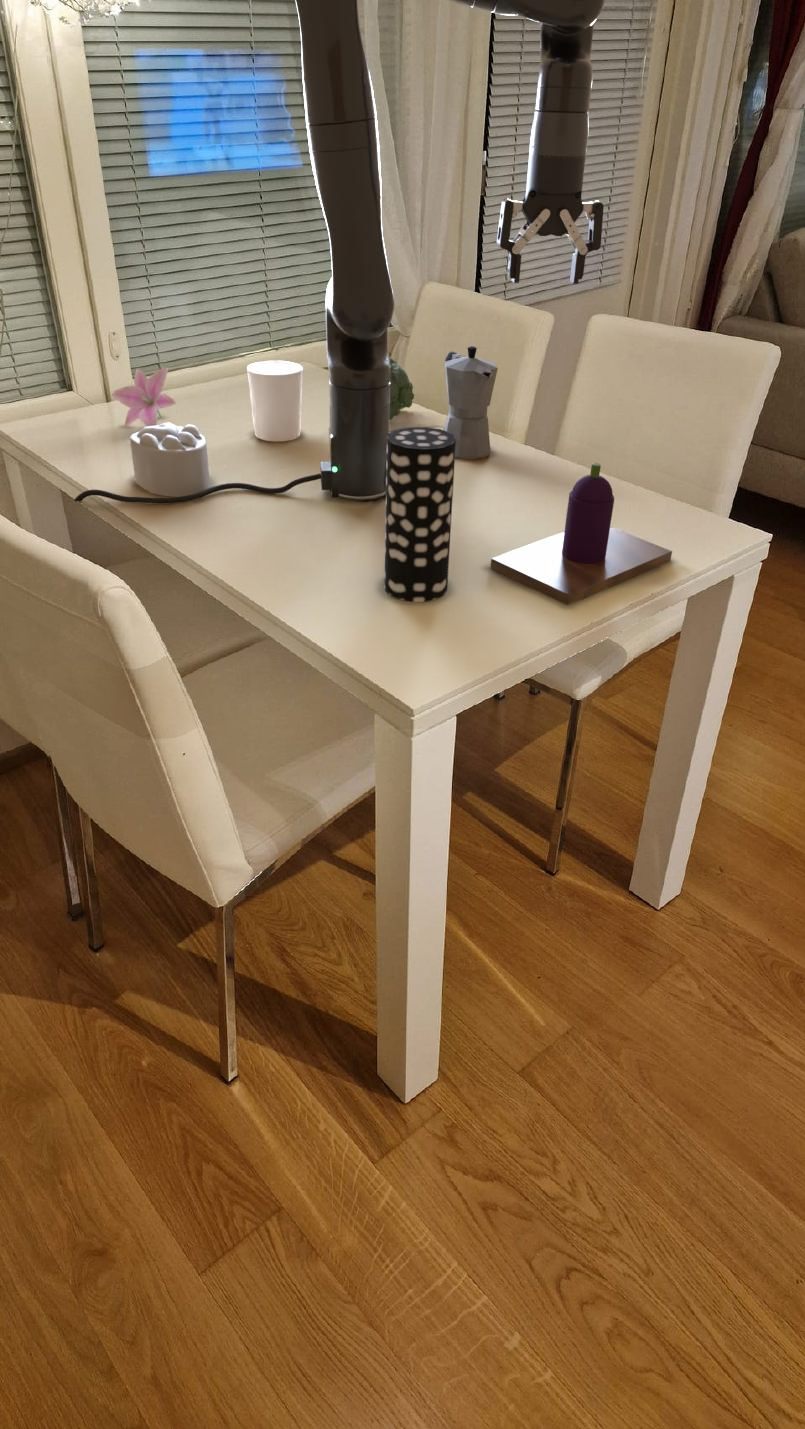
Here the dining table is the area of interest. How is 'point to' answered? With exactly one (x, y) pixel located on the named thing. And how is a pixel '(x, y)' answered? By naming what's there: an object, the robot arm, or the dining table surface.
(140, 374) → the lily
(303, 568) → the dining table surface
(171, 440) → the lumpy-topped squat cylinder
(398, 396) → the vegetable
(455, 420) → the coffeepot
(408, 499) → the spotted tube
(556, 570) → the cutting board
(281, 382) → the candle holder
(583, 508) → the eggplant
